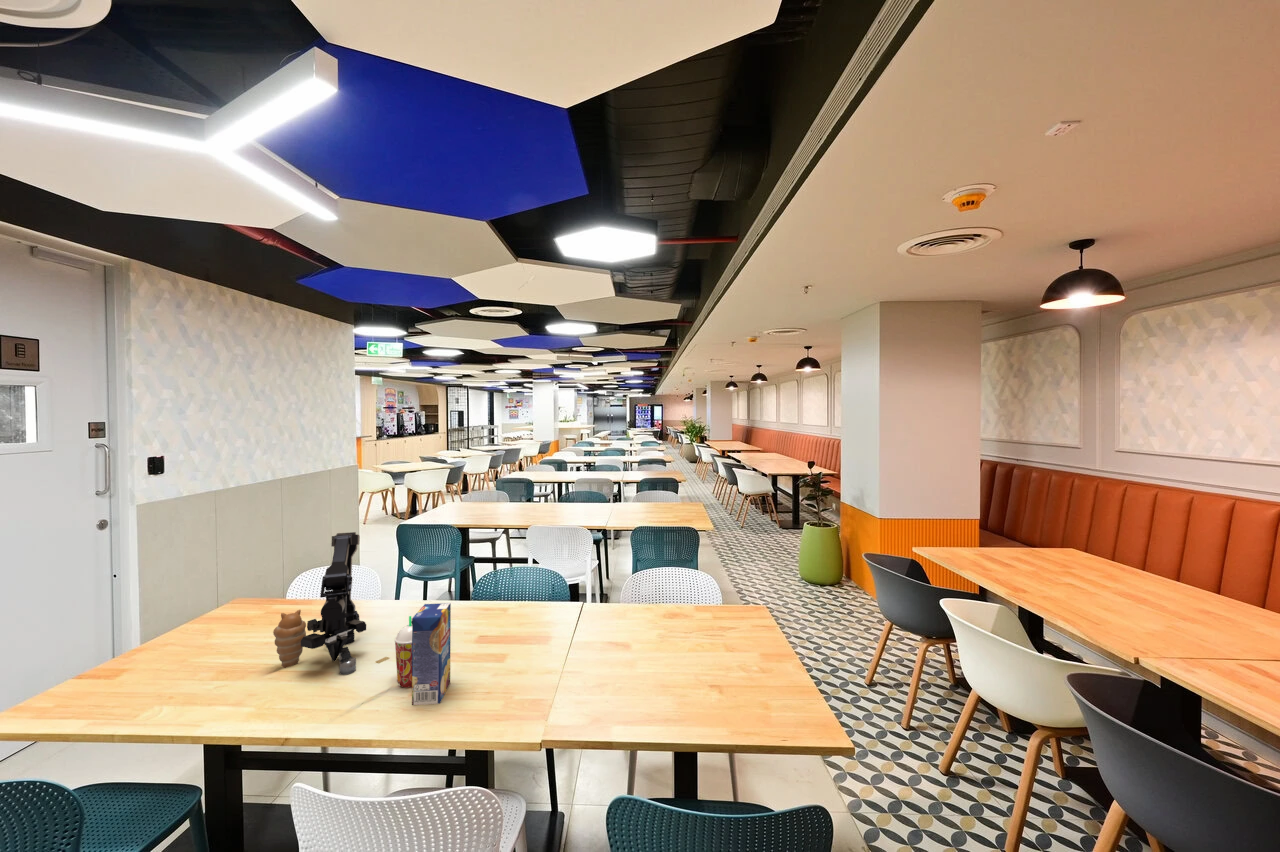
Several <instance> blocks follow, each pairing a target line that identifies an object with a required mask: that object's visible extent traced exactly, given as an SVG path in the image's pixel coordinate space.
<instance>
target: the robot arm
mask: <svg viewBox="0 0 1280 852" xmlns="http://www.w3.org/2000/svg"><path fill="white" fill-rule="evenodd" d="M360 539H361V538H360V534H357V533H356V531H354V532H338V533H336V535H333V536H331V543H330V545H331V547H333V554H332V555H333V556H332V561H331V565H329V566H328V567H327V568H326V569H325V573H324V576H322V581H321V588H320V597H319V598H322V599H323V598H325V602H324V603H323V606H322V608H321V609H320V616H321V620H320V619H319V620H317V618H313V619H309V620H307V623H306V627H307V628H306V629H307V631H308V632H312V633H311V634H306V636H304V637H303V638H302V639H301V646H302V647H303V648H306V649H311V650H314V649H317V648H320V647H323V646H324V645H325V646H326V649H327V652H328V653H329V655H330V659H331V661H332V662H336V661H337V659H338V655H339V654H340V652H341V650H342V648H343V647H345V646H346V645H350V644H353V643H355V632H356V633H363V632H365V631H367V622H366V621H363V620H360V614H359V613H358V610H356V605H355V603H354V601H353V600H352V597H351V596H352V588H353V576H352V574H353V573H352V572H353V571H352V570H353V557H354V555H355V554H356V552H357V550H358V545H360ZM318 631H319V632H320V633H323V634H319V633H316V632H318Z"/></svg>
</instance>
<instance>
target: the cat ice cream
mask: <svg viewBox="0 0 1280 852" xmlns="http://www.w3.org/2000/svg"><path fill="white" fill-rule="evenodd" d="M301 611H302V610H301V609H298V610H296V611H294V612H291V613H288V614H287V613H284V612H281V613H280V617H281V618H280V621H279V622H278V625H277V626H276V627H275V628H274V629H273V631H272V633H273V636H274V645H275V646H276V653H277V654H278V660H279V661H280V662H281V666H282V667H283V668H285V669H287V668H290V667H293V666H296V665H298V663H299V660H300V656H301V655H302V653H303V650H304V647H302V646H301V639H302V638H303V637H304V636H307V632H306V627H307V623H306V621H305V620H303V619H302V617H301V613H302V612H301Z"/></svg>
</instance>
